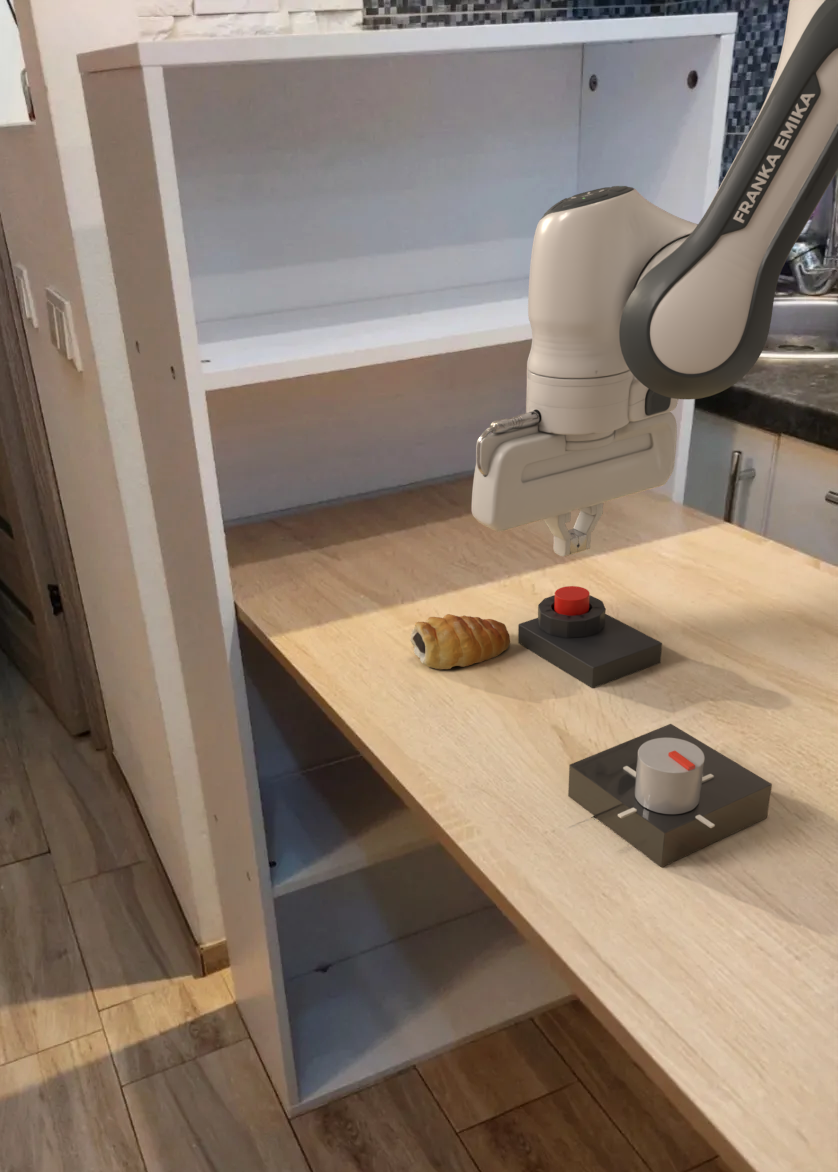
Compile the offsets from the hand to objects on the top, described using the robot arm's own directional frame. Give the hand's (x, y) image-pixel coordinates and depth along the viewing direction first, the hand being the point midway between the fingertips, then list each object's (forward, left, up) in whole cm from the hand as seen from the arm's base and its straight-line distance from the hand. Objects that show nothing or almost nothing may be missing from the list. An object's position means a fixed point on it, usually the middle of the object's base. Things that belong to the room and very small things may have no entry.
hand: (571, 551), depth 95 cm
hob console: (+11, +25, -10) cm, 29 cm away
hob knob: (+13, +27, -6) cm, 30 cm away
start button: (0, 0, -6) cm, 6 cm away
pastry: (+10, -5, -10) cm, 15 cm away
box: (0, +3, -10) cm, 10 cm away
